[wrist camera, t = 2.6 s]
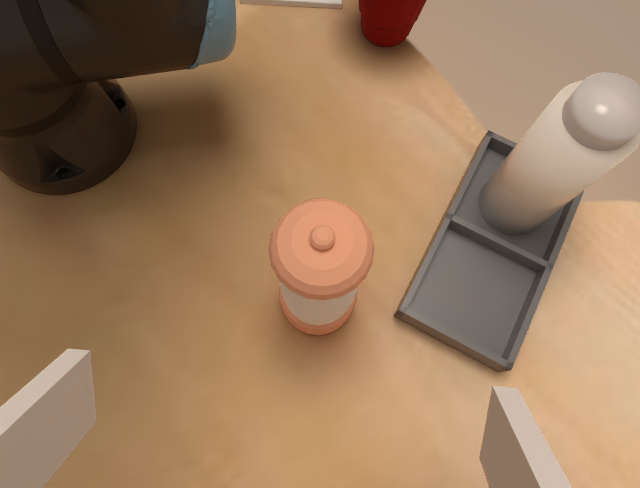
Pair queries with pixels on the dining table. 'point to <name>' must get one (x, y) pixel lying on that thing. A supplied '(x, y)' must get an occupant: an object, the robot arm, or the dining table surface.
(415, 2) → the plastic cup
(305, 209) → the pepper shaker
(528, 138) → the salt shaker
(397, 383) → the dining table surface
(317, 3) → the external hard drive
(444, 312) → the shaker caddy
